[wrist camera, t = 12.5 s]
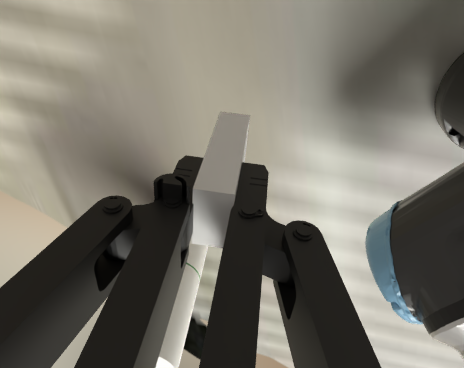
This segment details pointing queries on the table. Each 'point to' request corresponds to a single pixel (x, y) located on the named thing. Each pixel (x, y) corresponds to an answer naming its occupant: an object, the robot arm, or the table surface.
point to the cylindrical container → (182, 308)
